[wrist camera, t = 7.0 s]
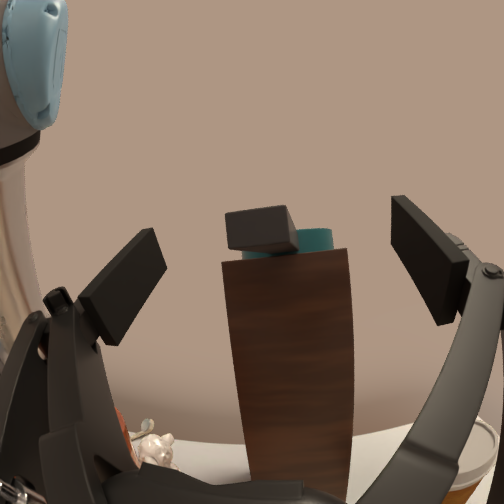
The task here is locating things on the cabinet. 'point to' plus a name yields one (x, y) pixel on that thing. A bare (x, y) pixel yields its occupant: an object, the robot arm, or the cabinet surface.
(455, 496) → the disposable coffee cup
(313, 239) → the disc paddle
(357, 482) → the cabinet surface
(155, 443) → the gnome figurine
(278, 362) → the pillar
